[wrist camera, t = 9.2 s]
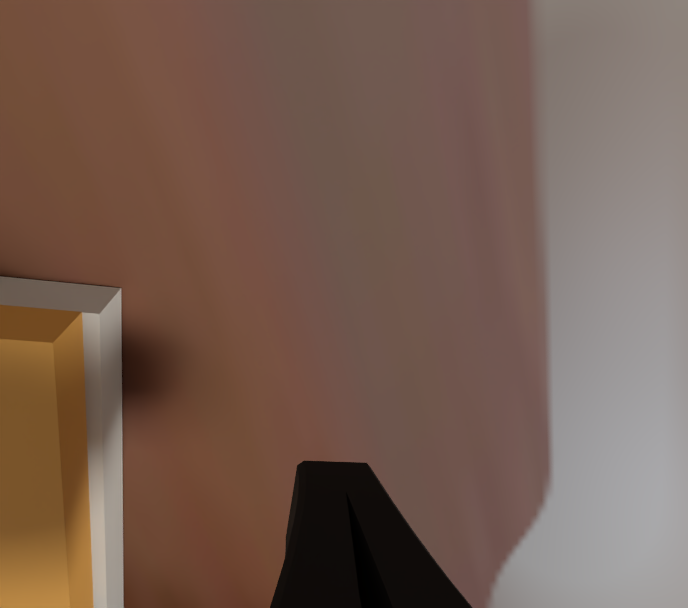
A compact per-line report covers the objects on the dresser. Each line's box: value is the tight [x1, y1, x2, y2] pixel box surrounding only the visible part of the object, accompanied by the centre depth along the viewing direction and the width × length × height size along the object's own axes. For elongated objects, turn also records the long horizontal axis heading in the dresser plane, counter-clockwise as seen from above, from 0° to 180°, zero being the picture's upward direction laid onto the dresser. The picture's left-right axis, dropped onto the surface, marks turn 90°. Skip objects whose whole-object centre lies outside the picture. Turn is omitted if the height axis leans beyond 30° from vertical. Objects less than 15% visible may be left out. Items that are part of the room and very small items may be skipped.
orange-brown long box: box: [0, 305, 94, 608], centre depth 11 cm, size 2×11×2 cm, turn 171°
